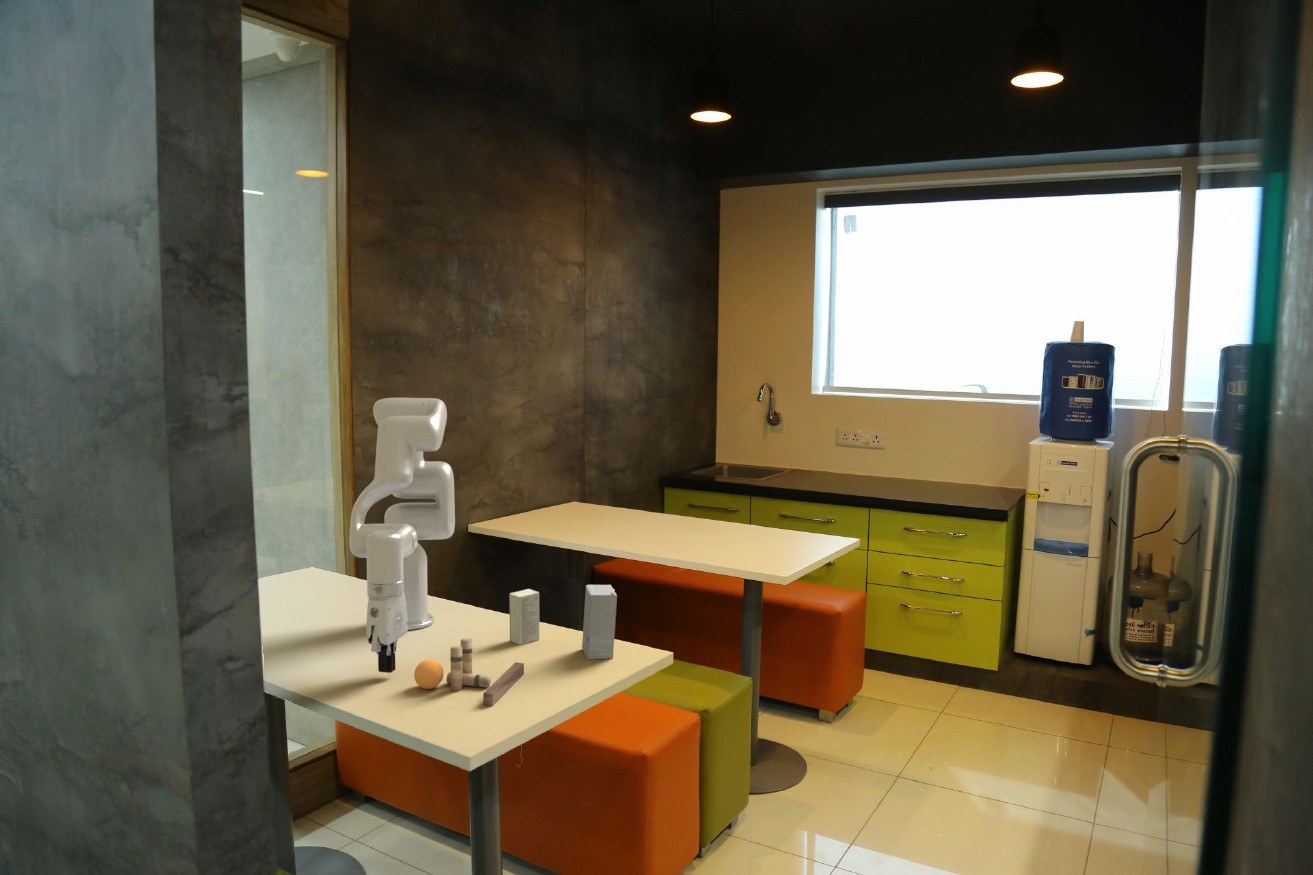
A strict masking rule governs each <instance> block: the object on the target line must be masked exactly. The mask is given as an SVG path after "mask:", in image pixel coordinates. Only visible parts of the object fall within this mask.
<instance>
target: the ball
mask: <svg viewBox="0 0 1313 875" xmlns="http://www.w3.org/2000/svg"><path fill="white" fill-rule="evenodd" d="M444 672H445V671H444V668H443V666H442V665H441V663H440V662H438V661H437V660H434V659H431V658H430V659H425V660H422V661H421V662H419V664H418V665H416V667H415V669H414V674H413V677H414V681H415V683H416V684H417V686H419V688H422V689H426V690H431V689H434V688H436V687H438V686H439V685H440V684H441V682H442V681H443V678H444V675H445V674H444Z"/></svg>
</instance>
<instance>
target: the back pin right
mask: <svg viewBox="0 0 1313 875" xmlns="http://www.w3.org/2000/svg"><path fill="white" fill-rule="evenodd" d="M449 651H450V658H449V660H450V672H451V684H450V690H451V692H461V691H462V690H463V685H462V647H461V645H453V646H451V647H450V650H449Z"/></svg>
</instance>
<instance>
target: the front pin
mask: <svg viewBox="0 0 1313 875" xmlns="http://www.w3.org/2000/svg"><path fill="white" fill-rule="evenodd" d="M446 675H447V676H446V679H445V680H446V684H448V685H451V671H449V672H448V673H447V674H446ZM491 681H492V680H491V676H490V675H483V674H476V673H475V674H473V673H472V674H464V673H462V686H468V687H476V688H477V687H478V688H487V689H488V688H489V687H490V686H491V685H490V684H491V683H492V682H491Z"/></svg>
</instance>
